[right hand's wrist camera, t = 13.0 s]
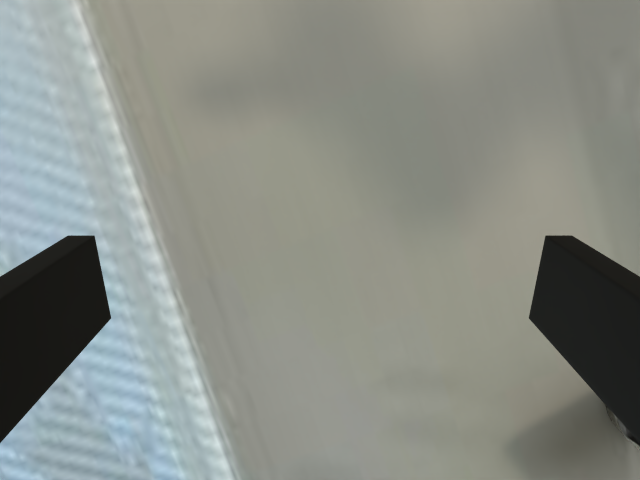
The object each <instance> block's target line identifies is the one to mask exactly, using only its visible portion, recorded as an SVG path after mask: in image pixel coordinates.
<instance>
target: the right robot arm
mask: <svg viewBox="0 0 640 480" xmlns="http://www.w3.org/2000/svg"><path fill="white" fill-rule="evenodd" d="M110 319H111V315H110V310H109V305H108V300H107V296H106V291H105V286H104V281H103V276H102V271H101V266H100V261H99V256H98V251H97V246H96V241H95V236H67V237H65V238H63V239H62V240H60V241H59V242H57V243H55V244H54V245H52V246H50V247H49V248H47V249H45V250H44V251H42V252H40V253H39V254H37V255H35V256H34V257H32V258H30V259H29V260H27V261H25V262H24V263H22V264H21V265H19V266H17V267H16V268H14V269H12V270H11V271H9V272H7V273H6V274H4V275H2V276H1V277H0V443H1V441H2V440H3V439H4V438H5V437H6V436H7V435H8V434H9V432H10V431H11V430H12V429H13V428H14V427H15V426H16V425H17V423H18V422H19V421H20V420H21V419H22V418H23V417H24V416H25V414H26V413H27V412H28V411H29V410H30V409H31V408H32V407H33V405H34V404H35V403H36V402H37V401H38V400H39V399H40V398H41V396H42V395H43V394H44V393H45V392H46V391H47V390H48V389H49V387H50V386H51V385H52V384H53V383H54V382H55V381H56V380H57V378H58V377H59V376H60V375H61V374H62V373H63V372H64V371H65V369H66V368H67V367H68V366H69V365H70V364H71V363H72V362H73V360H74V359H75V358H76V357H77V356H78V355H79V354H80V353H81V351H82V350H83V349H84V348H85V347H86V346H87V345H88V344H89V342H90V341H91V340H92V339H93V338H94V337H95V336H96V335H97V333H98V332H99V331H100V330H101V329H102V328H103V327H104V326H105V324H106V323H107V322H108V321H109V320H110ZM529 319H530V320H531V321H532V322H533V323H534V324H535V326H536V327H537V328H538V329H539V330H540V331H541V332H542V333H543V335H544V336H545V337H546V338H547V339H548V340H549V341H550V342H551V344H552V345H553V346H554V347H555V348H556V349H557V350H558V351H559V353H560V354H561V355H562V356H563V357H564V358H565V359H566V360H567V362H568V363H569V364H570V365H571V366H572V367H573V368H574V369H575V371H576V372H577V373H578V374H579V375H580V376H581V377H582V378H583V380H584V381H585V382H586V383H587V384H588V385H589V386H590V387H591V389H592V390H593V391H594V392H595V393H596V394H597V395H598V396H599V398H600V399H601V400H602V401H603V402H604V403H605V404H606V407H607V411H608V414H609V417H610V419H611V420H612V422H613V423H614V425H615V426H616V427H617V428H618V429H619V430H620V432H621V433H622V434H623V436H625V437H626V438H627V439H628V440H629V441H630V442H631V443H632V444H633V445H634V446H635V447H636V448H637V449H638V450H639V451H640V277H639V276H638V275H636V274H634V273H633V272H631V271H629V270H628V269H626V268H624V267H623V266H621V265H619V264H618V263H616V262H615V261H613V260H611V259H610V258H608V257H606V256H605V255H603V254H601V253H600V252H598V251H596V250H595V249H593V248H591V247H590V246H588V245H586V244H585V243H583V242H581V241H580V240H578V239H577V238H575V237H573V236H545V241H544V246H543V251H542V256H541V261H540V266H539V271H538V276H537V281H536V286H535V291H534V296H533V300H532V305H531V310H530V315H529Z"/></svg>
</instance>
